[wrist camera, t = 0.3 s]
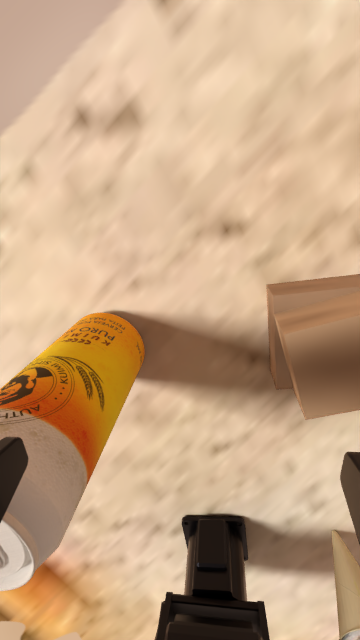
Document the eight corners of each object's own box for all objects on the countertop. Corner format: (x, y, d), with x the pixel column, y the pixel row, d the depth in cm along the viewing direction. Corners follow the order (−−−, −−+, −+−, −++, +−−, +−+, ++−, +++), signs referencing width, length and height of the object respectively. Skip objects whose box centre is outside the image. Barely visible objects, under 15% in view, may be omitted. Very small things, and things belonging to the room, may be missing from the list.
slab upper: (387, 370, 19) (416, 399, 16) (293, 389, 20) (305, 419, 17) (376, 286, 17) (407, 302, 14) (273, 314, 18) (284, 334, 15)
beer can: (128, 299, 22) (-24, 468, 8) (158, 365, 24) (77, 593, 10) (62, 321, 23) (-165, 497, 9) (95, 382, 25) (-52, 601, 11)
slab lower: (363, 360, 22) (384, 383, 19) (269, 366, 23) (276, 389, 20) (371, 270, 19) (397, 282, 17) (265, 283, 20) (273, 295, 18)
